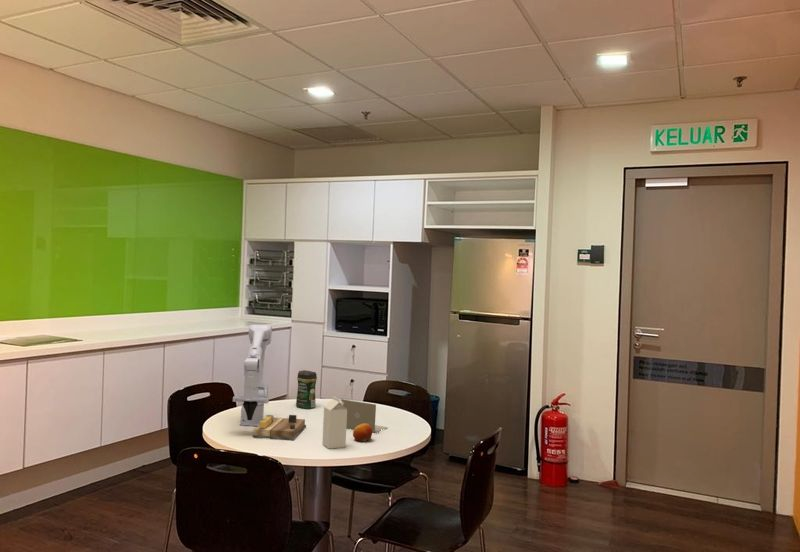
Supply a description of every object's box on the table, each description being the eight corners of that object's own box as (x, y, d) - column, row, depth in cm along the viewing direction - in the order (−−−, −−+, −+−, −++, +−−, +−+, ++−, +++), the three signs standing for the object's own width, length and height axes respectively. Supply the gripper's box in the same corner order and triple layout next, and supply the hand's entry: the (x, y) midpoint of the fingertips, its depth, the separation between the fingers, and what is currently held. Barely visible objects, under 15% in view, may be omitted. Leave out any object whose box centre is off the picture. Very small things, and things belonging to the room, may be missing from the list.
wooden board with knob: (252, 437, 239) (253, 421, 239) (268, 424, 261) (268, 410, 261) (293, 440, 238) (294, 424, 238) (305, 427, 260) (306, 412, 260)
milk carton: (328, 449, 228) (330, 400, 228) (322, 444, 234) (324, 396, 234) (345, 447, 231) (347, 399, 231) (338, 442, 237) (341, 395, 238)
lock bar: (266, 420, 253) (266, 414, 253) (273, 420, 253) (274, 415, 253) (258, 427, 240) (258, 421, 240) (266, 428, 240) (266, 422, 240)
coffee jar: (293, 407, 299) (294, 370, 299) (304, 404, 305) (305, 368, 305) (307, 410, 293) (309, 372, 293) (318, 407, 300) (319, 371, 300)
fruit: (368, 441, 236) (361, 422, 239) (354, 448, 240) (347, 429, 242) (380, 437, 243) (372, 419, 246) (366, 444, 247) (358, 426, 249)
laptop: (388, 429, 265) (389, 400, 265) (374, 434, 253) (375, 404, 254) (353, 423, 273) (355, 394, 273) (339, 428, 262) (340, 399, 262)
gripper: (230, 387, 241) (229, 420, 240) (265, 389, 240) (264, 423, 240) (236, 384, 248) (235, 417, 248) (270, 386, 247) (269, 419, 247)
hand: (249, 419), depth 244 cm, fingers closed
